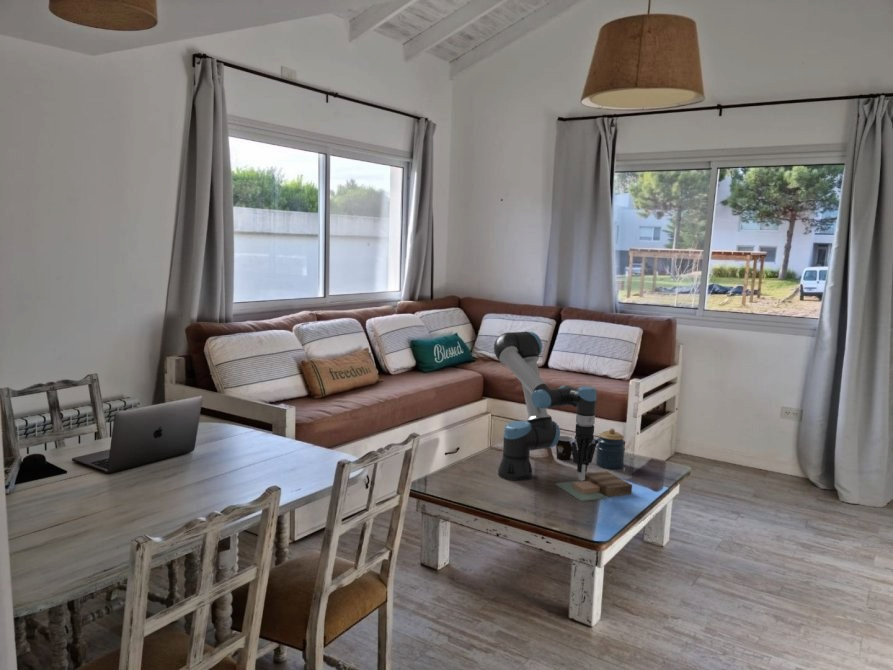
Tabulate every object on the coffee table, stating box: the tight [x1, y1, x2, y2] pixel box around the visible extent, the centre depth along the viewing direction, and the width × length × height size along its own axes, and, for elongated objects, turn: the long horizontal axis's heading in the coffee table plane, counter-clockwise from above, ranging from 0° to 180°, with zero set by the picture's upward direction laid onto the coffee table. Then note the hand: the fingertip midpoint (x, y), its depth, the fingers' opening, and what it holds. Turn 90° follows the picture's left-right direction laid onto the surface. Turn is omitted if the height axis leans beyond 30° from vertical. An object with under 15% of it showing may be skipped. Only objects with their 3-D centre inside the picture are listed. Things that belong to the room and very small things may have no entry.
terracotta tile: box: [573, 481, 600, 494], centre depth 288 cm, size 8×8×2 cm
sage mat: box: [555, 480, 608, 502], centre depth 287 cm, size 20×12×1 cm, turn 22°
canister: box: [595, 428, 626, 470], centre depth 322 cm, size 13×13×18 cm
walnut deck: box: [582, 470, 633, 498], centre depth 292 cm, size 18×12×4 cm, turn 22°
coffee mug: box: [555, 435, 578, 461], centre depth 328 cm, size 12×9×10 cm
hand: (581, 479), depth 286 cm, fingers closed
